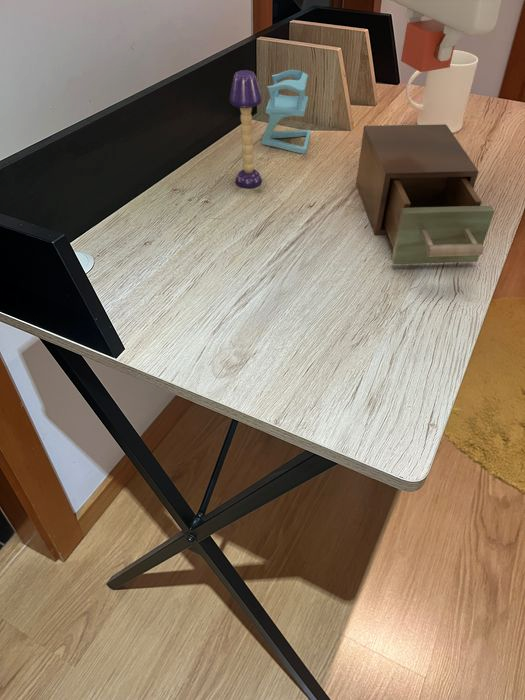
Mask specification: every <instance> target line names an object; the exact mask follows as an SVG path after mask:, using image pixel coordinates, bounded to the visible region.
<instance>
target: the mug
mask: <svg viewBox="0 0 525 700" xmlns="http://www.w3.org/2000/svg"><path fill="white" fill-rule="evenodd" d="M478 63H479V57H478V56H476V55H475V54H473V53H470V52H467V51H463V50H457V49H454V51H453V55H452V59H451V64H450V67H449V68H443V69H437V70H431V71H427V76H426V81H425V85H424V89H423V93H422V94H423V95H422V100H421V103H416V101H414V100H412V98H411V95H410V89H411V85H412V83H413V81H414V79H416V77H418V76H419V75H420V74H422V73H423V72H420V71H418V70H416V71H414V73H412V75H411V76H410V78H409V80H408V82H407V85H406V90H405V96H406V99H407V102H408V104H409V105H410V106H411V107H412V108H413V109H415V110H417V111H419V113H418V116H417V117H416V118H417V119H416V125H443V124H446V125H447V126H448V128H449V129H450V131H451V132H452V134H456V133H457V132H460V131H461V130H462V129H463V123H464V122H463V121H464V117H465V113H466V109H467V104H468V101H469V98H470V94H471V89H472V86H473V82H474V78H475V75H476V71H477V68H478V67H477V66H478Z"/></svg>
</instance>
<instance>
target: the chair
mask: <svg viewBox="0 0 525 700" xmlns="http://www.w3.org/2000/svg"><path fill="white" fill-rule="evenodd" d="M271 78H272V81H273V85H267V86H266V89H267V91H268V94H269V100H268V103H267V105H266V106H265V107H266V108H265V115H266V114H268V122H267V125H266V127H265V129H264V132H263V135H262V138H261V145H264V146H270V147H274V148H277V149H282V150H286V151H289V152H294V153H298V154H302V155H306V154H307V152H308V146H309V142H310V137H311V130H309V129H297V130H281V131H274V130H275V129H276V127H277V125H278V123H279V122H280V121H281V120H282V119H284V118H289V117H294V116H295V117H303V118H304V117H305V113H306V109H307V105H308V101H309V96H307V95H306V88H307V85H308V80H309V74H307V73H306V72H304V71H301V70H297V69H288V70H285V71H282V72H279V73H277V74H271ZM285 78H293V79H285ZM282 79H285V80H282ZM280 80H281V81H280ZM278 81H279V82H278ZM281 90H289V91H292V92H294V93H296V94H297V95H285V94H279V92H280V91H281ZM299 137H305V138H304V142H303V146H300V145H297V144H294V143H293V144H292V143H289V142H285V141H282V140H278V139H285V138H299Z"/></svg>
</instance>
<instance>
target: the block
mask: <svg viewBox="0 0 525 700" xmlns="http://www.w3.org/2000/svg"><path fill="white" fill-rule="evenodd" d="M444 26H445V25H444V24H442V23H440V22H438V21H435V20H433V19H427V20H421V21H418V22H411V23H407V22H406V28H405V34H404V39H403V45H402V50H401V51H402V52H401V56H400V61H401V62H402V63H403V64H406V65H407V66H409V67H411V68H413V69H414V70H416V71H417V70H418V71H420V72H422V73H424V72H428V71H431V70H437V69H443V68H449V67H450V64H451V59H452V55H453V51H454V50H455V47H456V44H455V45H454V46H453V48H452V52H451V57H450V59H449V60H446V61H440V60H438V59H436V58H435V57H434V53H435V47H436V45H437V44H441V42H442V41H443V39H444V37H445V35H446V34H444V33H443V31H444Z"/></svg>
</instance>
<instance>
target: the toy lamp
mask: <svg viewBox="0 0 525 700" xmlns="http://www.w3.org/2000/svg"><path fill="white" fill-rule="evenodd" d="M261 102H262V94H261V90H260V87H259V84H258V79H257V76H256V74H255V72H254V71H252V70H248V69H244V70H239V71H236V72H235V73H234V75H233V78H232V83H231V88H230V95H229V103H230V105H232V106H233V107H235V108H239V111H240V122H241V125H240V131H241V136H240V137H241V142H242V143H241V144H242V145H241V151H242V161H243V163H242V167H243V168H242V170H240V171H238V173H237V175H236V176H235V184H236V186H238V187H240V188H243V189H253V188H257V187H258V186H260V185H261V184H262V181H263V178H262V176H261V173H260V172H258V170H256V169H255V164H254V158H255V157H254V153H253V152H254V144H253V141H254V139H253V138H254V136H253V124H252V122H253V115H252V111H253V108H254V107H256V106H259V105H260V104H262V103H261Z"/></svg>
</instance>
